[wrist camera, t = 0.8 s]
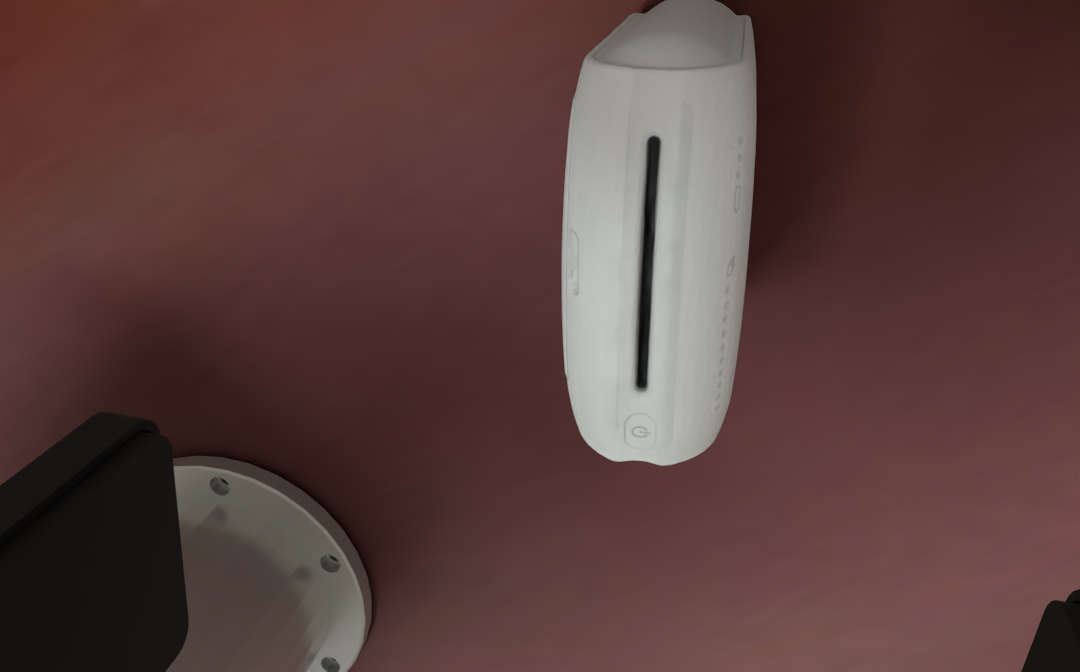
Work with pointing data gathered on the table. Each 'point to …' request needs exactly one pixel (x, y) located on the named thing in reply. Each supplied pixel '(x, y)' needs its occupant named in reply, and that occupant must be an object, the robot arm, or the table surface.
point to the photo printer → (658, 229)
